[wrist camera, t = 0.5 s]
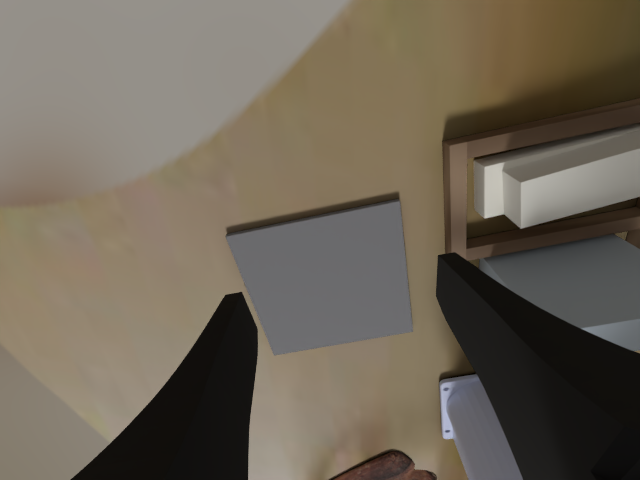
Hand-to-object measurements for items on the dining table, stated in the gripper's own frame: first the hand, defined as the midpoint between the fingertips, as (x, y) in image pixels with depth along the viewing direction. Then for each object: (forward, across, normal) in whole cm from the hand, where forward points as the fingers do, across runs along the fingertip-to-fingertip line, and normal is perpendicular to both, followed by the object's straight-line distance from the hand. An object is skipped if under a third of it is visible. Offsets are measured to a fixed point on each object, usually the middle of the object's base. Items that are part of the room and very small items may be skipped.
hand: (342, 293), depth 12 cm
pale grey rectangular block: (+9, -15, +9) cm, 20 cm away
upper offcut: (+8, -15, +2) cm, 17 cm away
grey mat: (+10, +1, +9) cm, 13 cm away
